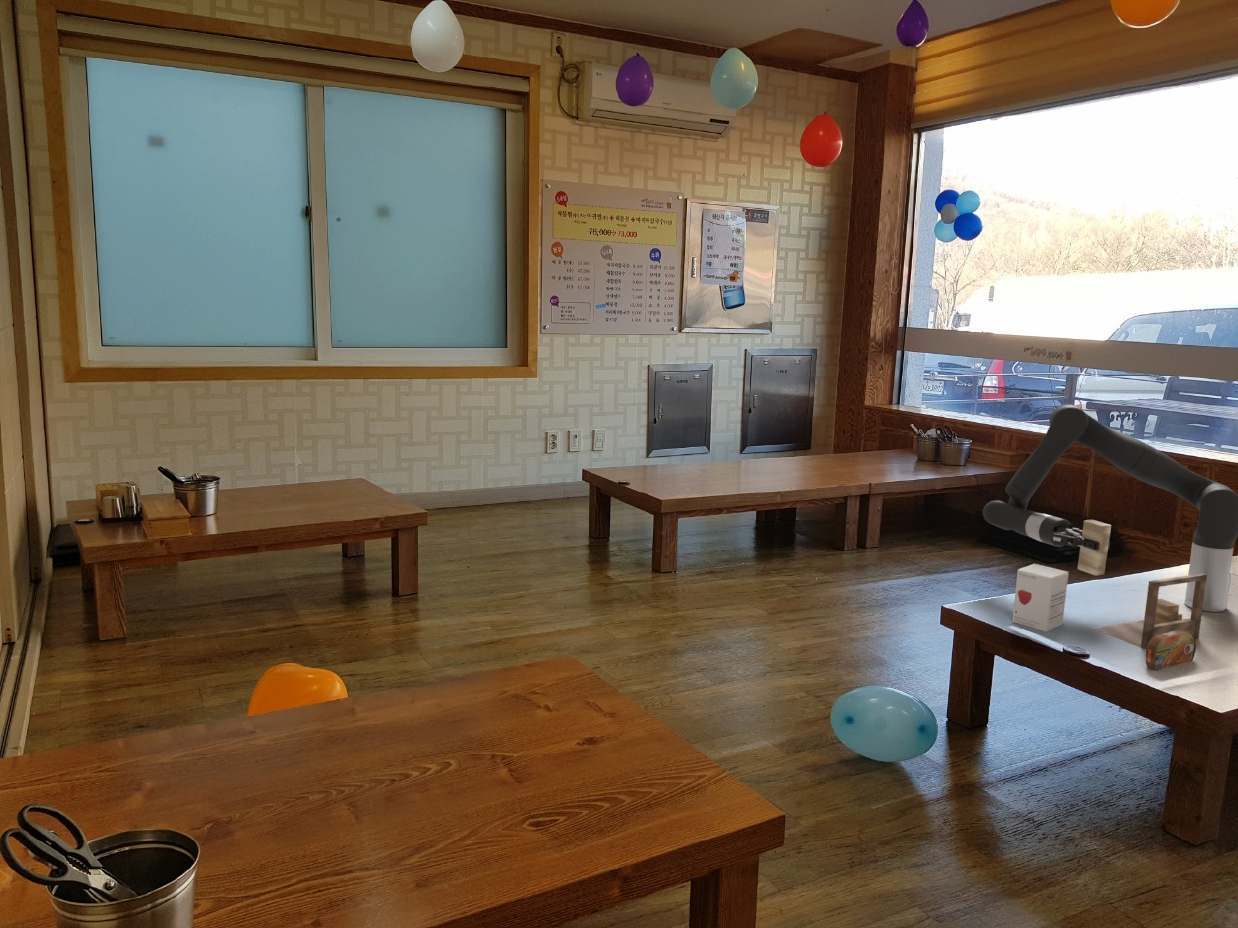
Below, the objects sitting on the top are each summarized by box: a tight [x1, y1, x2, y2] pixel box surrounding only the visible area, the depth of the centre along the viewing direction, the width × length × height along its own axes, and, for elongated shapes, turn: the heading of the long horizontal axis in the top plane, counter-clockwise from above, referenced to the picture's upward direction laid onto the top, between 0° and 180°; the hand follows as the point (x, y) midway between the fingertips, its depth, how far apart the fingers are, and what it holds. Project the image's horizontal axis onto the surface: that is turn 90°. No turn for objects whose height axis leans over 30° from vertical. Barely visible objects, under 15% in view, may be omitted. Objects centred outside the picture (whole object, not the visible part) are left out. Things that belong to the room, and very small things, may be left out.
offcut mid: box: [1155, 612, 1183, 623], centre depth 221 cm, size 4×6×2 cm
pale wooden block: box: [1076, 519, 1112, 577], centre depth 230 cm, size 3×6×13 cm, turn 22°
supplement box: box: [1011, 563, 1070, 633], centre depth 225 cm, size 9×9×15 cm
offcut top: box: [1156, 598, 1180, 616], centre depth 220 cm, size 4×5×2 cm
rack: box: [1093, 573, 1207, 650], centre depth 218 cm, size 18×14×17 cm
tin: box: [1145, 630, 1197, 672], centre depth 201 cm, size 15×3×8 cm, turn 117°
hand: (1103, 545), depth 227 cm, fingers closed on pale wooden block, 3 cm apart
